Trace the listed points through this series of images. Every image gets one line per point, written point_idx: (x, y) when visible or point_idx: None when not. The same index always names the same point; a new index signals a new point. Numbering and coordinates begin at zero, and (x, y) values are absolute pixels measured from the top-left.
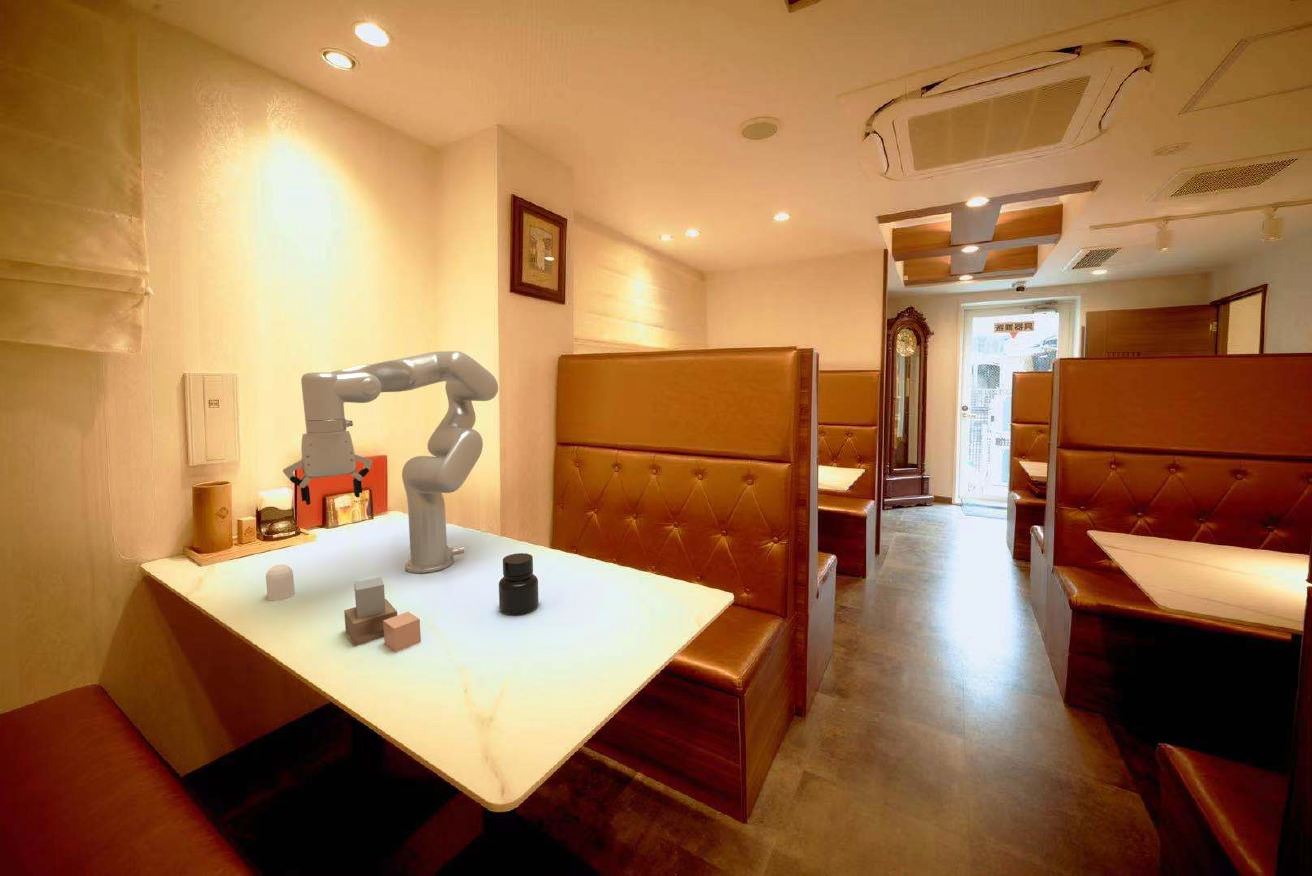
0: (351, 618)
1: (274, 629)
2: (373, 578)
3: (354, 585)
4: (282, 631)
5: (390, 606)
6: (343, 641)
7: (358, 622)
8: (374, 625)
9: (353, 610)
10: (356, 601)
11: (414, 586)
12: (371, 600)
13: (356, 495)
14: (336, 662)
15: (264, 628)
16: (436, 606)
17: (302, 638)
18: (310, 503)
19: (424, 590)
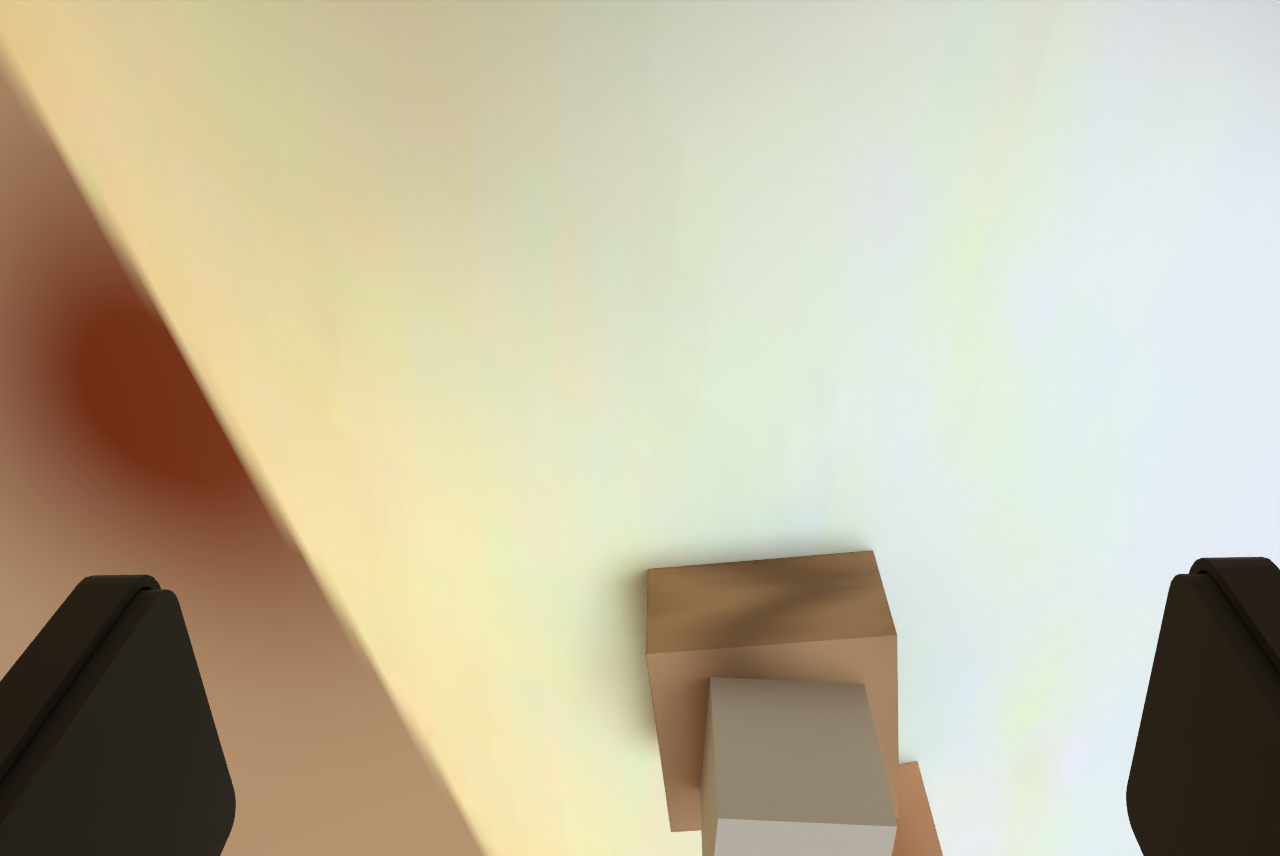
0: (670, 770)
1: (271, 306)
2: (844, 827)
3: (716, 805)
4: (322, 365)
5: (887, 748)
6: (627, 665)
7: (696, 828)
8: None
9: (694, 685)
10: (704, 853)
11: (1216, 125)
12: None
13: (1147, 841)
14: (584, 817)
15: (208, 252)
16: (1166, 558)
17: (437, 519)
18: (231, 814)
19: (1235, 259)
